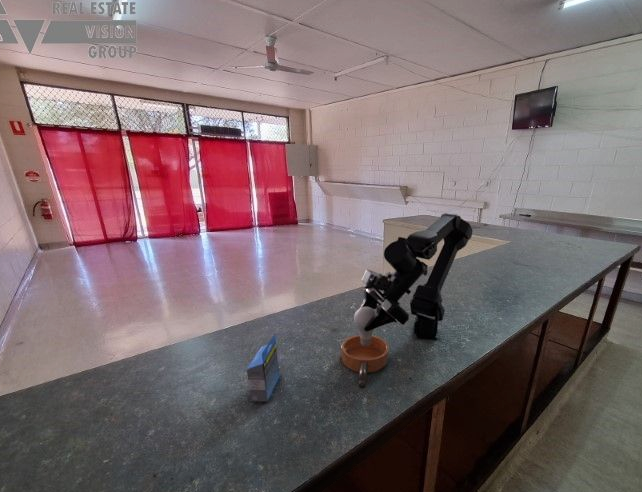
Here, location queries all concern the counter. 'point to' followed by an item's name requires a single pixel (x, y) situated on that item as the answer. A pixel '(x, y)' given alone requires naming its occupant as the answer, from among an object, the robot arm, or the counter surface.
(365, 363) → the handle
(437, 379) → the counter surface
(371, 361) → the orange round dish
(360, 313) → the lightbulb
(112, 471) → the counter surface
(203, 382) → the counter surface
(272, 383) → the blue cardboard box
